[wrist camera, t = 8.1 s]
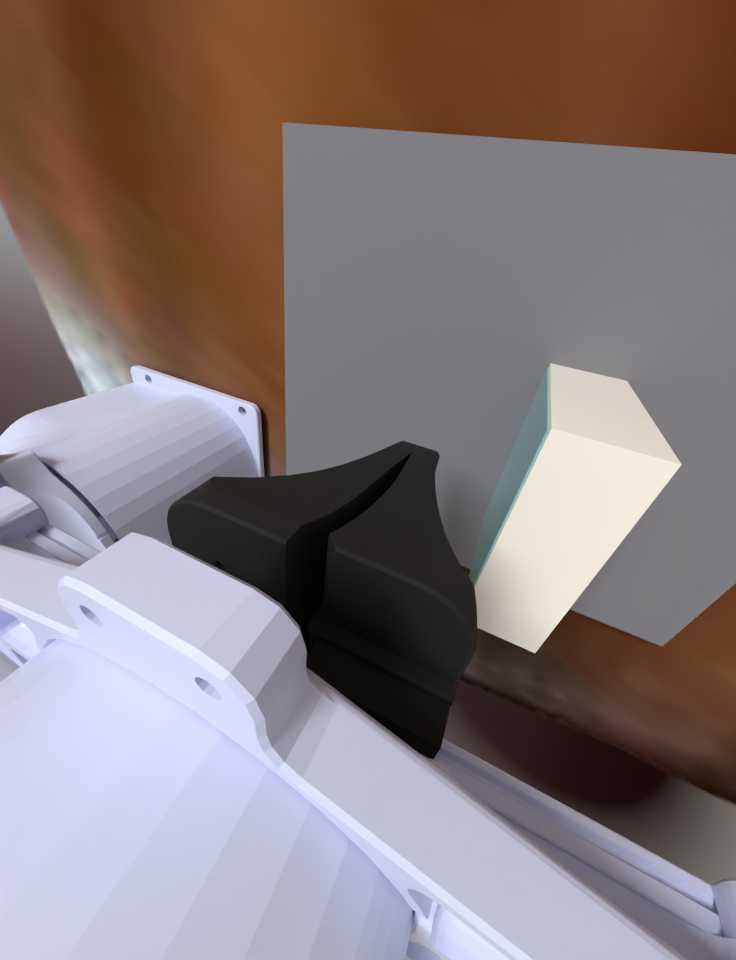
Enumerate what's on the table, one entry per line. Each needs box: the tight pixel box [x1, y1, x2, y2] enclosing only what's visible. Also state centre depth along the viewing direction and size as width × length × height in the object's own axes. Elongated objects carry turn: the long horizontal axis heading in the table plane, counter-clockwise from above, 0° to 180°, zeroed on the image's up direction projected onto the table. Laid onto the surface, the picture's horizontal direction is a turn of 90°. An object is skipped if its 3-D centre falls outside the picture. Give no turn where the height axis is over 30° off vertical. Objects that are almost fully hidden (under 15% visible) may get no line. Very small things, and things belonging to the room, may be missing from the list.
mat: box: [283, 122, 736, 646], centre depth 14 cm, size 20×16×1 cm
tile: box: [469, 363, 682, 653], centre depth 11 cm, size 2×7×6 cm, turn 172°
